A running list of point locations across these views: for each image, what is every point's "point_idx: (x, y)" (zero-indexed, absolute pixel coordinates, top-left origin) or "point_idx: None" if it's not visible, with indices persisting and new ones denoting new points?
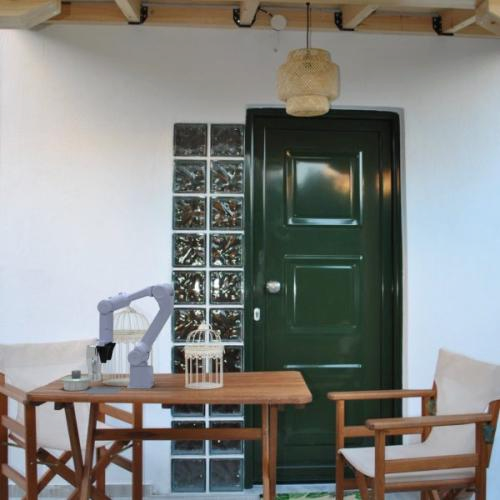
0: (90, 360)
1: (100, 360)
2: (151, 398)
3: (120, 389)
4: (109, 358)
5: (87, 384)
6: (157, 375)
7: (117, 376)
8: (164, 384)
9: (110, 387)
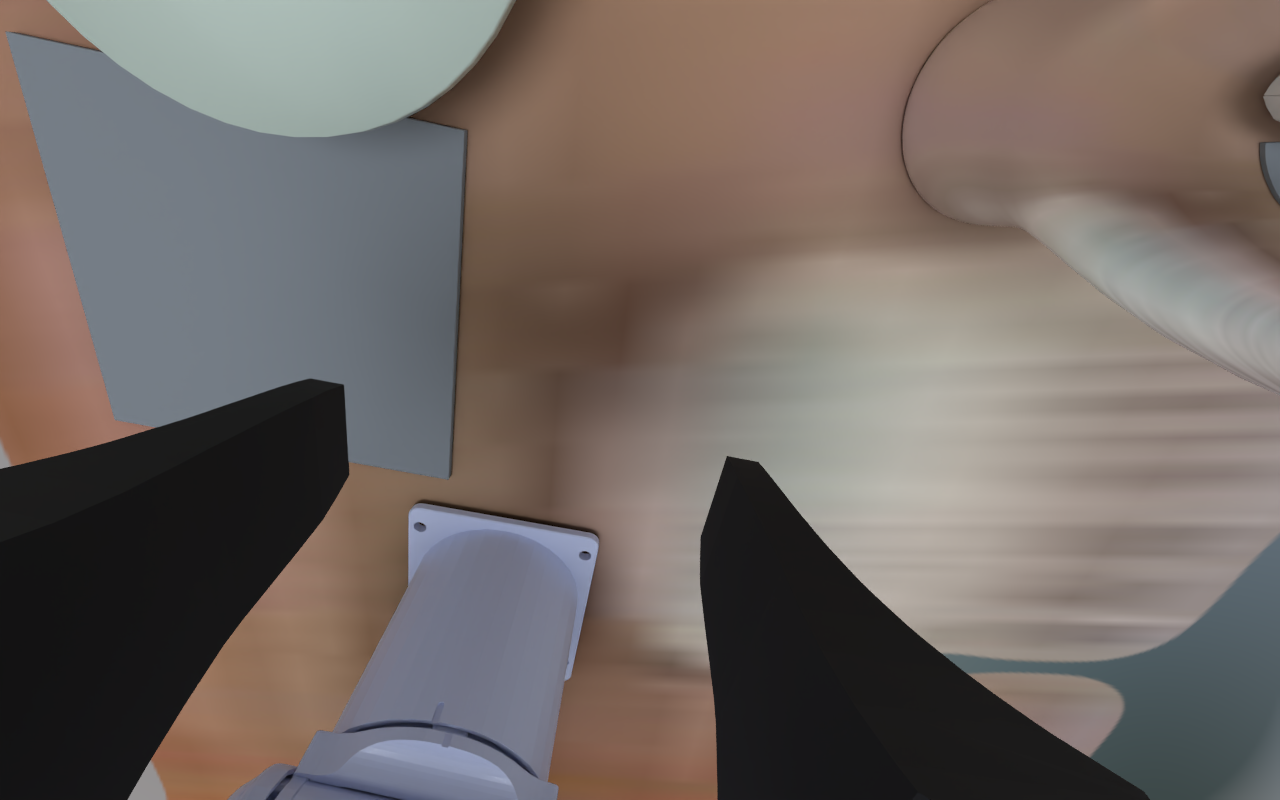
0: (1168, 21)
1: (259, 396)
2: None
3: None
4: (709, 545)
5: None
6: (1034, 710)
7: (1185, 404)
8: (603, 726)
9: (431, 360)
